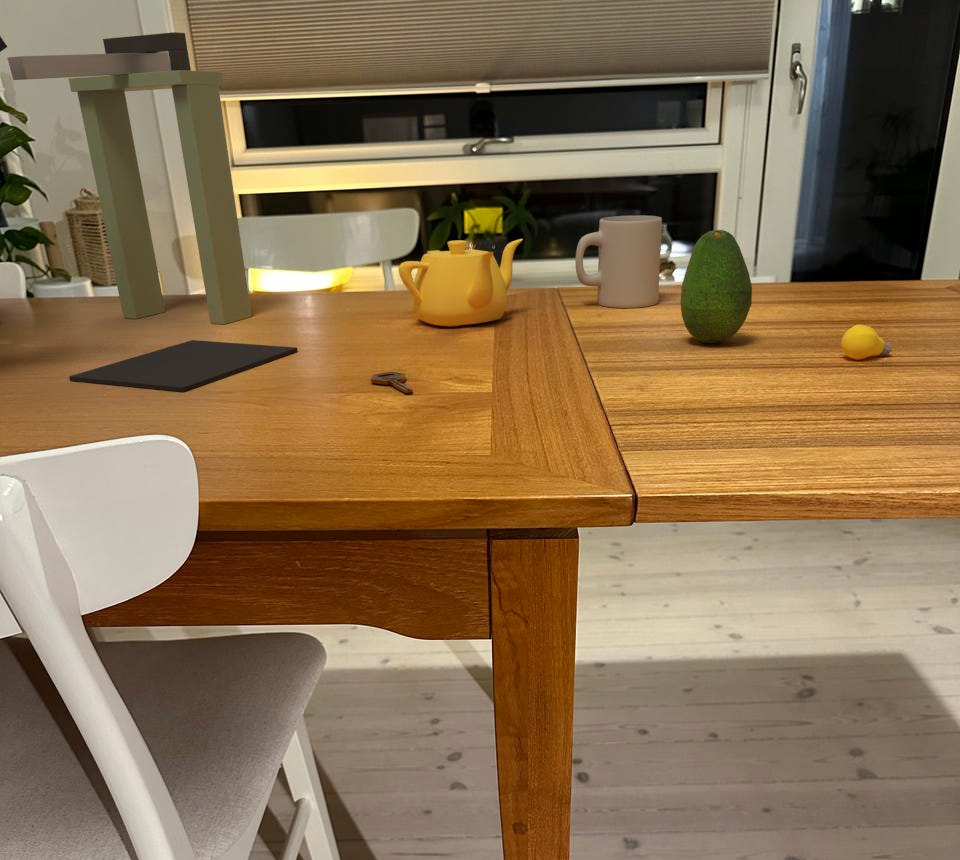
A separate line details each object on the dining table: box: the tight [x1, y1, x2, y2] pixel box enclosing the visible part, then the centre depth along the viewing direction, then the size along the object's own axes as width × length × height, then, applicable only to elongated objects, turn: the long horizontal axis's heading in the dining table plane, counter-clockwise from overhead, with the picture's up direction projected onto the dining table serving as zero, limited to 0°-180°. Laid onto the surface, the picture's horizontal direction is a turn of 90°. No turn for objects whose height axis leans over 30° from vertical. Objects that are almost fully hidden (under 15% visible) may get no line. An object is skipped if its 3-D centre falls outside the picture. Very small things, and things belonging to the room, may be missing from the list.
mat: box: [68, 339, 299, 393], centre depth 108 cm, size 16×20×1 cm
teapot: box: [398, 238, 524, 328], centre depth 125 cm, size 14×13×10 cm
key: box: [370, 371, 414, 394], centre depth 96 cm, size 4×8×1 cm, turn 26°
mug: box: [574, 215, 663, 309], centre depth 132 cm, size 12×8×11 cm
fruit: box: [679, 229, 753, 344], centre depth 107 cm, size 8×8×12 cm
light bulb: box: [840, 324, 893, 361], centre depth 100 cm, size 3×6×4 cm, turn 108°
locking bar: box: [6, 52, 171, 81], centre depth 116 cm, size 2×24×2 cm, turn 154°
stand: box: [68, 31, 252, 325], centre depth 129 cm, size 18×8×34 cm, turn 64°
